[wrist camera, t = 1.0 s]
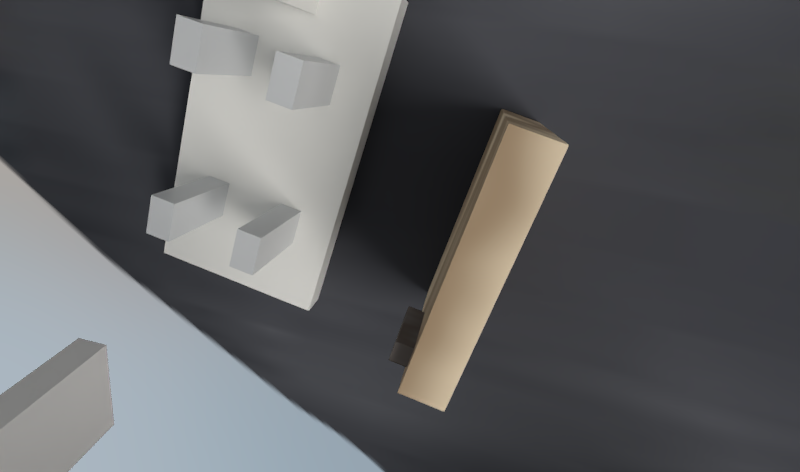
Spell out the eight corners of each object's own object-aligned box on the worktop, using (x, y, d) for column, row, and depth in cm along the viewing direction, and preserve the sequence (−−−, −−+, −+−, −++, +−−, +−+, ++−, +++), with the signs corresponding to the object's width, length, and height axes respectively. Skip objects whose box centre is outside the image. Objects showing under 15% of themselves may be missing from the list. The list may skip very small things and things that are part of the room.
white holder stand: (408, 2, 28) (339, -68, 15) (318, 299, 36) (220, 420, 23) (232, -60, 29) (23, -176, 16) (180, 244, 37) (11, 331, 24)
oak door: (538, 122, 29) (568, 145, 18) (459, 304, 34) (444, 411, 23) (486, 103, 30) (484, 114, 18) (415, 287, 34) (379, 385, 23)
